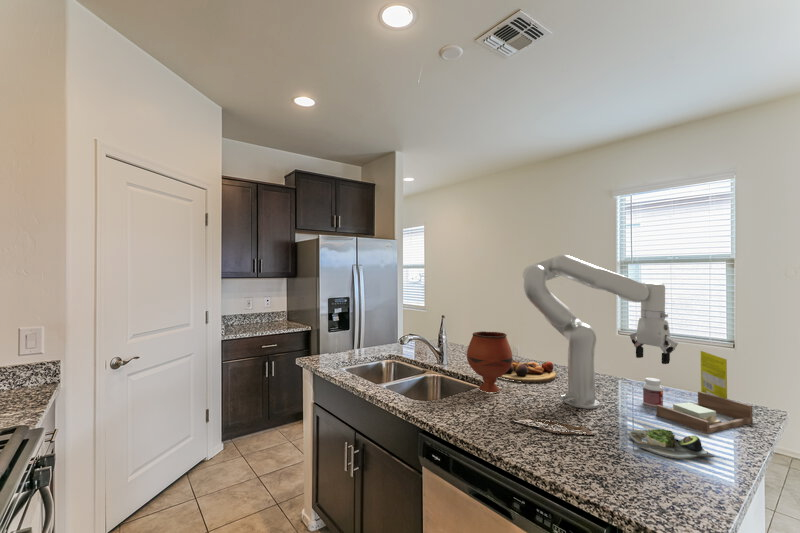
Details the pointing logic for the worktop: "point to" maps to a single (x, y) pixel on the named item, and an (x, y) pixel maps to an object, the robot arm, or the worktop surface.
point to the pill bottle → (652, 392)
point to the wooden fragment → (566, 427)
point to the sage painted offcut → (694, 410)
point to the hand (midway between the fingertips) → (652, 360)
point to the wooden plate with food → (530, 372)
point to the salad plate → (669, 444)
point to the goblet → (489, 357)
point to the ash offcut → (702, 418)
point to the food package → (713, 375)
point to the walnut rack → (716, 404)
